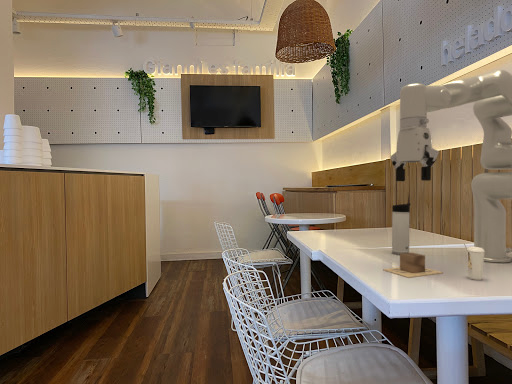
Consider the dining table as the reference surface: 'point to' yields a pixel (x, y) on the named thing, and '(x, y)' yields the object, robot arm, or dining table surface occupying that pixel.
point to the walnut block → (412, 262)
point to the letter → (409, 275)
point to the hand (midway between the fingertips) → (412, 180)
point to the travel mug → (400, 229)
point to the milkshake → (475, 262)
